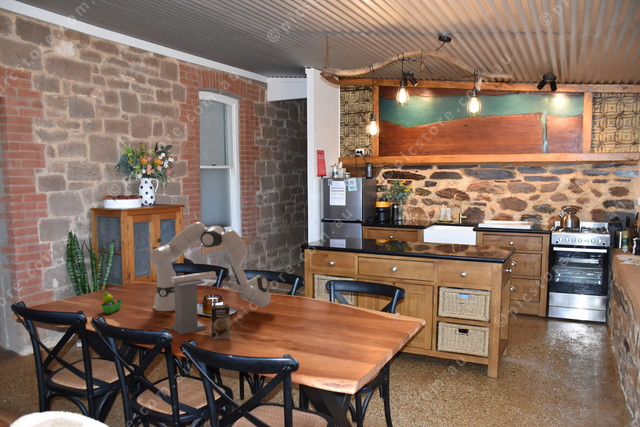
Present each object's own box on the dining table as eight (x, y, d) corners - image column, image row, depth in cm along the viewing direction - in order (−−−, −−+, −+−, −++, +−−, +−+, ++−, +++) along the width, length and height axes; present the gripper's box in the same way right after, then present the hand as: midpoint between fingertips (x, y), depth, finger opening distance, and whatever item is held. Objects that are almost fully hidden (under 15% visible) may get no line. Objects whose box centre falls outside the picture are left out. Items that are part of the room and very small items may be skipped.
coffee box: (211, 340, 249) (211, 308, 247) (211, 336, 255) (210, 305, 254) (230, 338, 251) (229, 307, 250) (229, 334, 257) (228, 303, 256)
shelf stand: (195, 323, 275) (194, 277, 273) (205, 329, 266) (204, 281, 264) (171, 328, 266) (169, 281, 264) (180, 334, 257) (179, 285, 255)
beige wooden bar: (213, 276, 275) (213, 271, 275) (215, 277, 273) (215, 272, 272) (171, 282, 260) (171, 277, 260) (173, 283, 258) (173, 278, 257)
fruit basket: (111, 313, 294) (111, 295, 293) (98, 313, 296) (97, 294, 295) (123, 308, 305) (122, 290, 304) (110, 307, 307) (109, 289, 306)
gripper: (240, 284, 297) (222, 275, 288) (258, 290, 281) (240, 281, 273) (235, 293, 295) (217, 285, 287) (254, 300, 279) (235, 292, 271)
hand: (228, 283), depth 280 cm, fingers open, 8 cm apart
